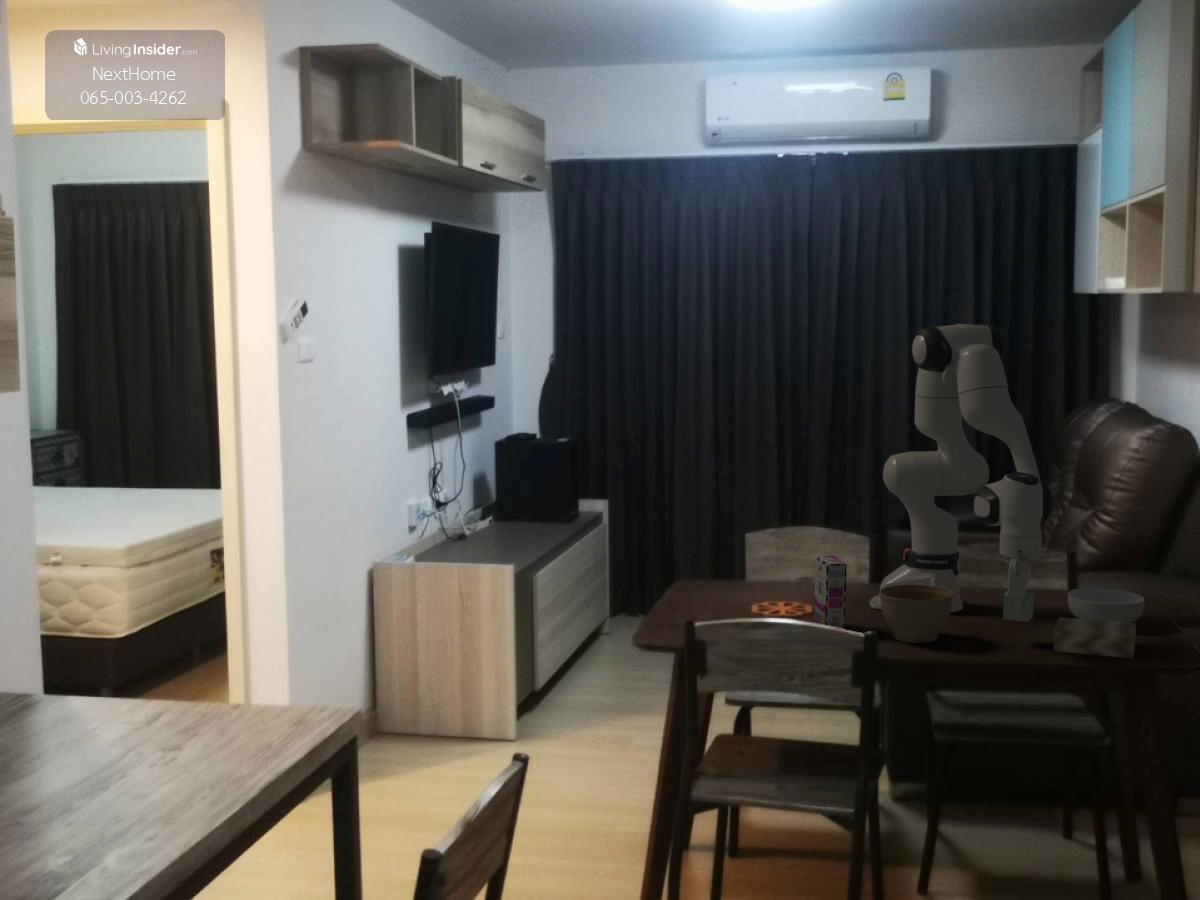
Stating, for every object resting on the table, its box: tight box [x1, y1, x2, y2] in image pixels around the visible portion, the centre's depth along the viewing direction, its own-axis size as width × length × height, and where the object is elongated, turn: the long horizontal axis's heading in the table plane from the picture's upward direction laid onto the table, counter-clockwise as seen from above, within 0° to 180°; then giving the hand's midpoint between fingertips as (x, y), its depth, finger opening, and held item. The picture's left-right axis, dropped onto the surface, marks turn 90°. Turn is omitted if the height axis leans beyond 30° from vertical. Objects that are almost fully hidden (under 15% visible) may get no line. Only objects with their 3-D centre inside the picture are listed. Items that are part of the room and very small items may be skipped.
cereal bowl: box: [1067, 587, 1146, 623], centre depth 314 cm, size 17×17×7 cm
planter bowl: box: [879, 585, 953, 644], centre depth 302 cm, size 16×16×11 cm
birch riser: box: [1053, 616, 1137, 659], centre depth 294 cm, size 16×13×5 cm
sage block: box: [1002, 590, 1035, 623], centre depth 297 cm, size 6×6×6 cm
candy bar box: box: [813, 555, 848, 629], centre depth 312 cm, size 11×5×16 cm, turn 5°
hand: (1018, 608), depth 297 cm, fingers closed on sage block, 6 cm apart
